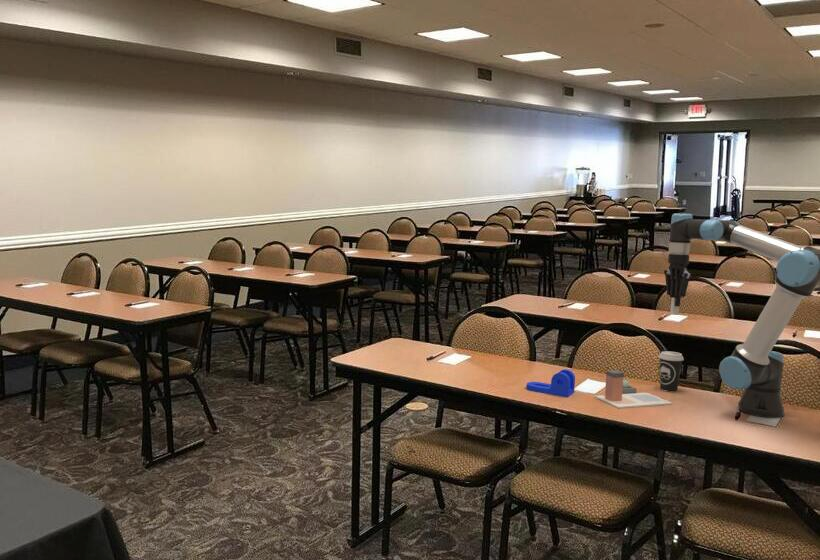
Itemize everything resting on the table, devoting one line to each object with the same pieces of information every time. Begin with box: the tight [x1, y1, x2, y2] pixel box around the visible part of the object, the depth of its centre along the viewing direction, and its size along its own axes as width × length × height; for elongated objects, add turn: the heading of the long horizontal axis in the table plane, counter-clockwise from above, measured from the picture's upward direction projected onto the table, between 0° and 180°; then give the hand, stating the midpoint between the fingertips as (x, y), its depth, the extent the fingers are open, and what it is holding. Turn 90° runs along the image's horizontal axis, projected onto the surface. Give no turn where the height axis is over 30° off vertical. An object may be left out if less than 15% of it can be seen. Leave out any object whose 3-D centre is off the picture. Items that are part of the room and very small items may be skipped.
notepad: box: [594, 392, 674, 410], centre depth 263 cm, size 15×24×1 cm, turn 109°
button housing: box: [622, 384, 637, 394], centre depth 275 cm, size 7×7×2 cm
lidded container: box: [604, 369, 625, 401], centre depth 261 cm, size 5×5×11 cm
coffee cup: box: [658, 350, 685, 392], centre depth 281 cm, size 10×10×15 cm
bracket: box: [525, 368, 576, 398], centre depth 272 cm, size 18×8×9 cm, turn 60°
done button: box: [623, 379, 630, 388], centre depth 274 cm, size 4×4×4 cm
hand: (674, 314), depth 269 cm, fingers closed
